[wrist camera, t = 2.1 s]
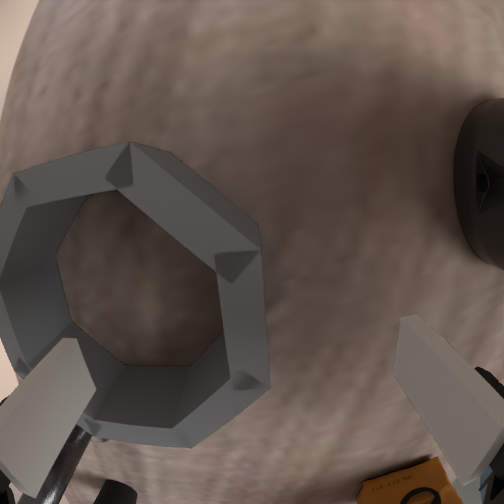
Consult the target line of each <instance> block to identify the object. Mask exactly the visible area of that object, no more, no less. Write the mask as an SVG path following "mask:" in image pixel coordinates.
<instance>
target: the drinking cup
mask: <svg viewBox="0 0 504 504" xmlns="http://www.w3.org/2000/svg"><path fill="white" fill-rule="evenodd" d="M136 500H137V493H136V491H135V490H134V489H132V488H131V487H129V486H127V485H125V484H123V483H120V482H117V481H113V480H108V481H106V482H105V483H104V485H103V487H102V489H101V491H100V492H99V494H98V496H97V498H96V500H95V502H94V504H136Z"/></svg>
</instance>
